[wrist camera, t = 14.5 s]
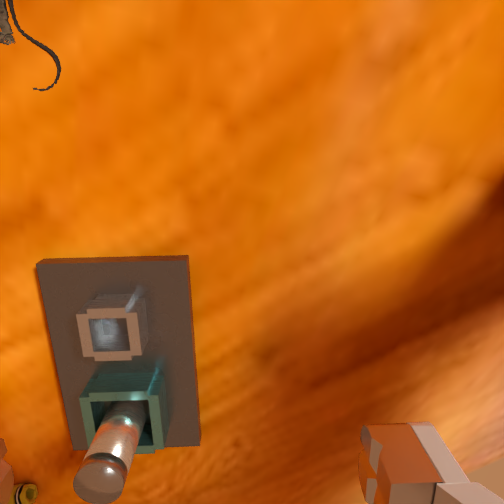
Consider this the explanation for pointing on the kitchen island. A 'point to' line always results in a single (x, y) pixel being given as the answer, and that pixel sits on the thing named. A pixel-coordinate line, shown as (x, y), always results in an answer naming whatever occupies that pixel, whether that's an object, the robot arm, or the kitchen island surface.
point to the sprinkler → (23, 494)
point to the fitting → (111, 452)
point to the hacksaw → (2, 22)
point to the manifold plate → (124, 343)
